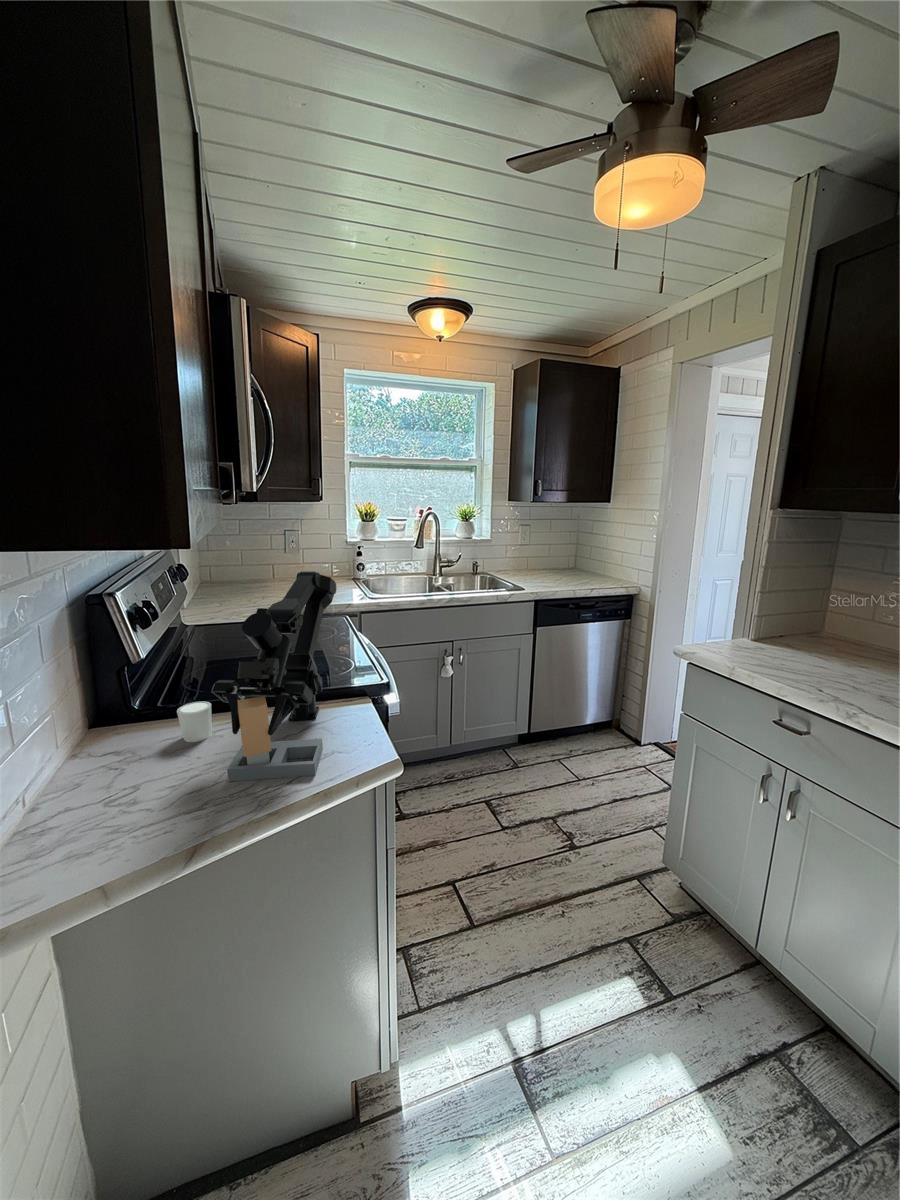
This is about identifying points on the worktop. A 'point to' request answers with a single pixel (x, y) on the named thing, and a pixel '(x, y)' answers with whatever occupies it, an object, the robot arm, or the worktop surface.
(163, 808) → the worktop surface
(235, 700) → the robot arm
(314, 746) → the socket block
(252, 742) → the plug
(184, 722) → the white cylinder
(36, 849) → the worktop surface
